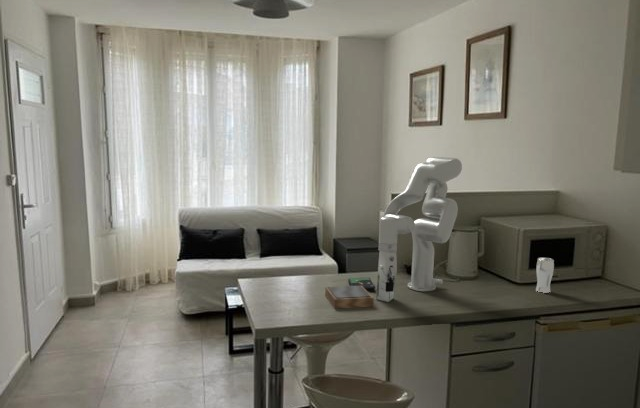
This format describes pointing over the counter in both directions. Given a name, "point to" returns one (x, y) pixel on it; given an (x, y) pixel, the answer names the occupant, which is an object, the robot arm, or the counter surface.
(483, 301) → the counter surface
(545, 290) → the beer glass
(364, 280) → the disk drive
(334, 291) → the stand
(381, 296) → the syrup box
